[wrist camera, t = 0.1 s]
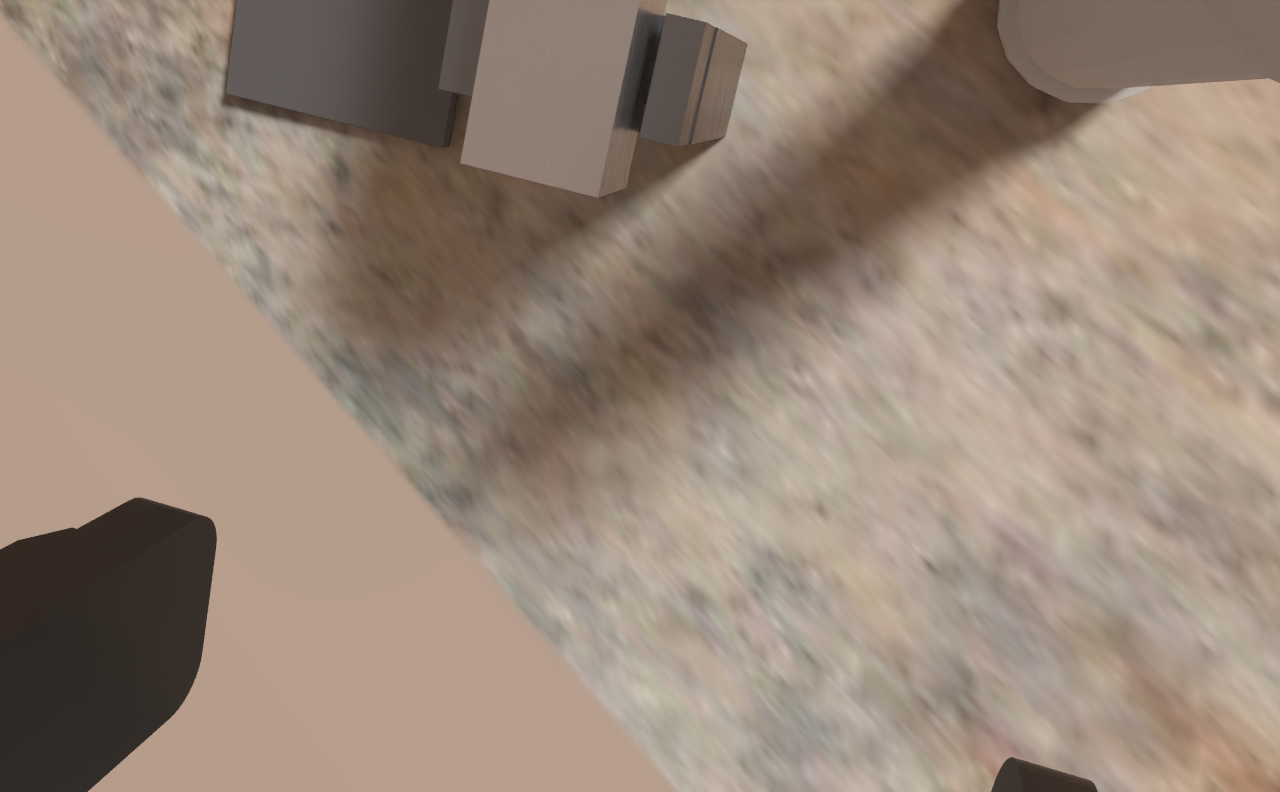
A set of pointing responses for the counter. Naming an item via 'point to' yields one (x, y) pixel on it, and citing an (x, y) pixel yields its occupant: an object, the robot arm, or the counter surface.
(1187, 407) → the counter surface
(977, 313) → the counter surface
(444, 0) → the mat
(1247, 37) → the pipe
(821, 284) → the counter surface
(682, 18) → the post
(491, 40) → the rail
